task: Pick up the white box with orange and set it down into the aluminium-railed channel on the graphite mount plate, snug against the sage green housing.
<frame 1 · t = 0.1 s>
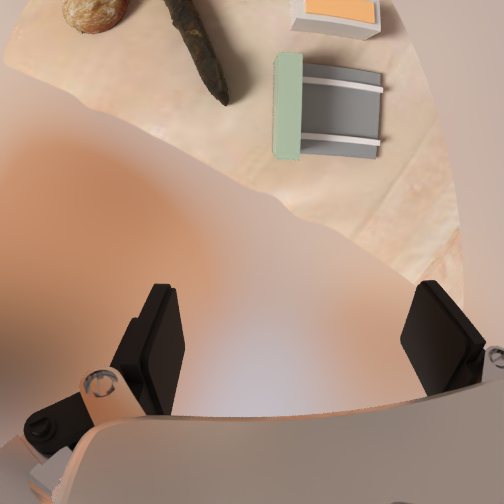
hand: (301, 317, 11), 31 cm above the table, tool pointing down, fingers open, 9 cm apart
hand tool: (203, 42, 32), on the table
white box with orange: (327, 20, 30), on the table
bread roll: (102, 4, 28), on the table
chute mount: (327, 109, 36), on the table
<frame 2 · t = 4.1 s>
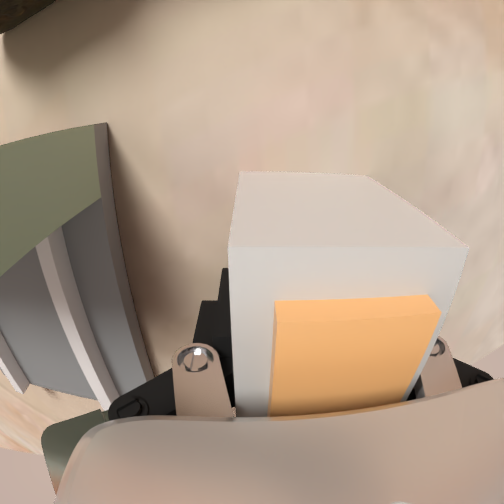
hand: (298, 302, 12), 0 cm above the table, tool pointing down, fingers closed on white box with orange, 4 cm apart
white box with orange: (297, 296, 12), on the table, touching gripper
chute mount: (29, 287, 12), on the table
when the fingers open (3 cm above the table, at t = 10.3 s): white box with orange drops 1 cm, resting on chute mount.
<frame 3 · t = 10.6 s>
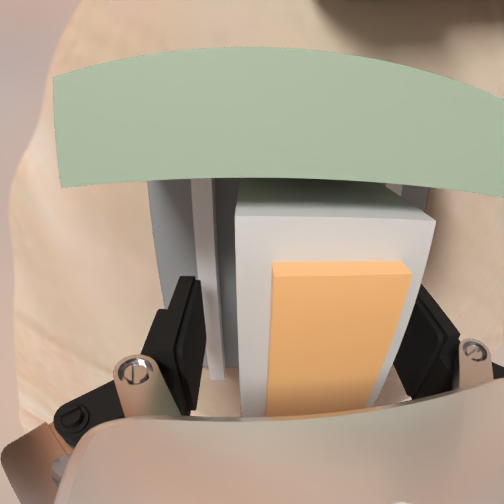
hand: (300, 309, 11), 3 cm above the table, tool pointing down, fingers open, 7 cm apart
white box with orange: (294, 278, 14), point 1 cm above the table, touching chute mount
chute mount: (291, 243, 14), on the table
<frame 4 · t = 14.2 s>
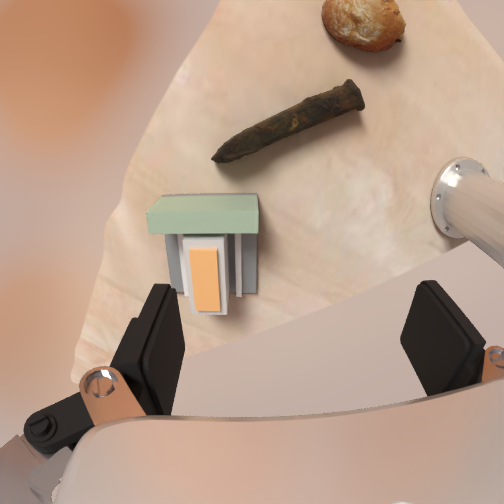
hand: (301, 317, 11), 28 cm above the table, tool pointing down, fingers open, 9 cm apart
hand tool: (286, 126, 35), on the table
white box with orange: (211, 256, 40), point 1 cm above the table, touching chute mount
bread roll: (360, 19, 28), on the table
chute mount: (211, 244, 41), on the table
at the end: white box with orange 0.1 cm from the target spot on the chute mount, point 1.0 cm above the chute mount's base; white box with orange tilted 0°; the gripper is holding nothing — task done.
